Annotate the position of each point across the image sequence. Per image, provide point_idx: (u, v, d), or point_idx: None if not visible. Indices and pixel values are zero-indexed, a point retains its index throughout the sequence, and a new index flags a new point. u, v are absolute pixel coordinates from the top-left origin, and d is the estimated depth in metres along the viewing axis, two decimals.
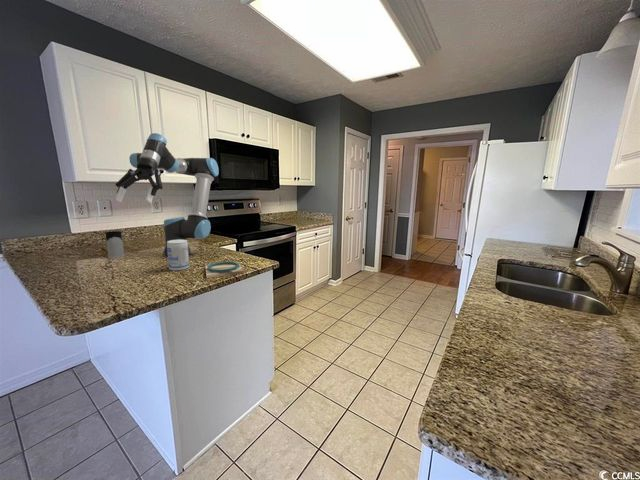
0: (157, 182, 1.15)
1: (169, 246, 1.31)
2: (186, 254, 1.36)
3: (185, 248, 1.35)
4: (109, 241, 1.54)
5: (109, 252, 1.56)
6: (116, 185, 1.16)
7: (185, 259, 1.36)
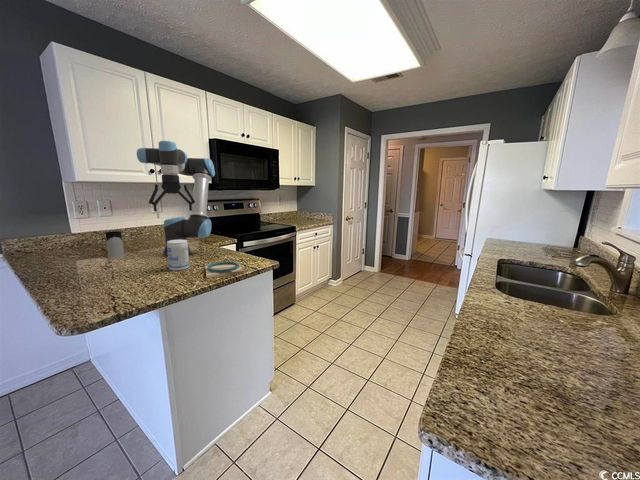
0: (192, 199, 1.34)
1: (169, 246, 1.31)
2: (186, 254, 1.36)
3: (185, 248, 1.35)
4: (109, 241, 1.54)
5: (109, 252, 1.56)
6: (150, 203, 1.27)
7: (185, 259, 1.36)
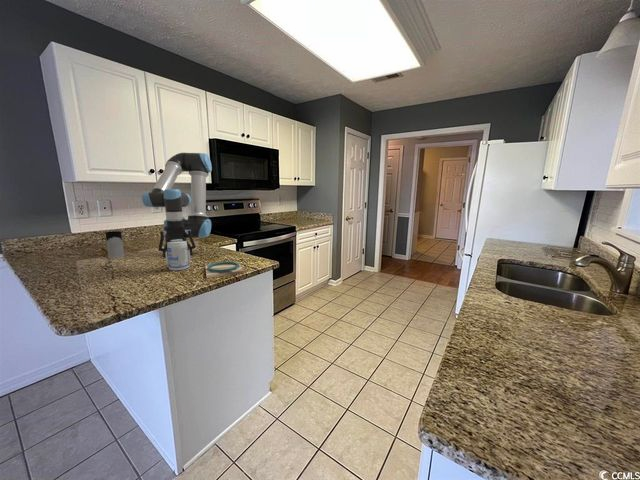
0: (193, 244, 1.38)
1: (169, 246, 1.31)
2: (186, 254, 1.36)
3: (185, 248, 1.35)
4: (109, 241, 1.55)
5: (109, 252, 1.56)
6: (160, 250, 1.32)
7: (185, 259, 1.36)
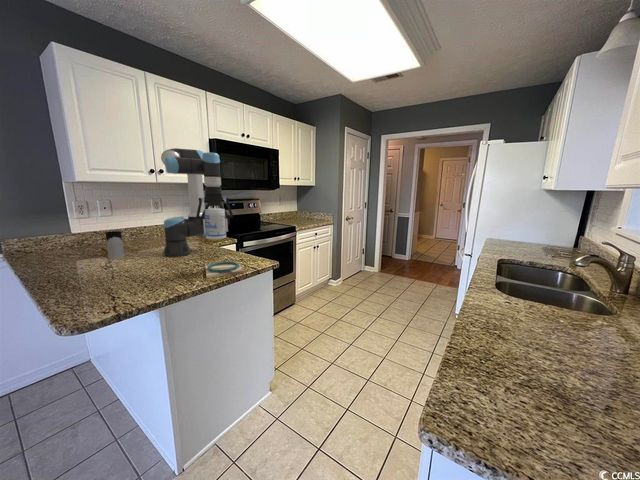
0: (230, 213, 1.31)
1: (207, 213, 1.25)
2: (224, 222, 1.30)
3: (223, 216, 1.29)
4: (109, 241, 1.54)
5: (109, 252, 1.56)
6: (197, 218, 1.26)
7: (223, 228, 1.29)
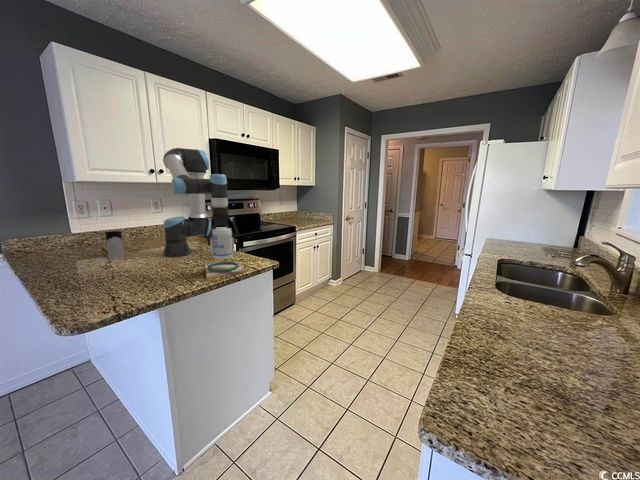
0: (237, 232, 1.33)
1: (215, 233, 1.27)
2: (231, 242, 1.32)
3: (230, 236, 1.31)
4: (109, 241, 1.54)
5: (109, 252, 1.56)
6: None
7: (230, 247, 1.31)
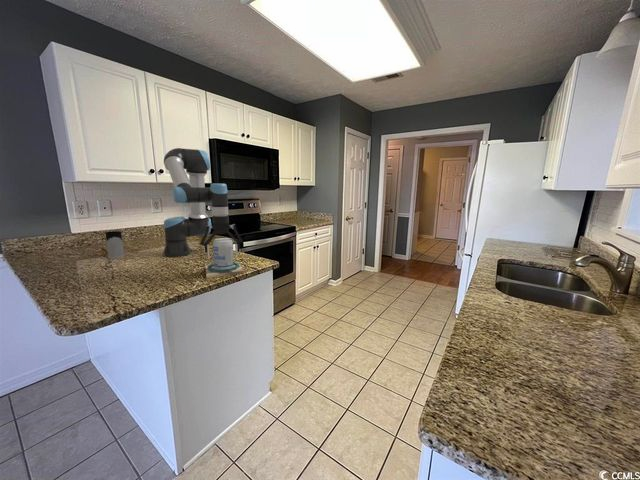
0: (240, 238, 1.35)
1: (216, 245, 1.28)
2: (232, 253, 1.33)
3: (231, 247, 1.32)
4: (109, 241, 1.55)
5: (109, 252, 1.56)
6: None
7: (231, 258, 1.32)
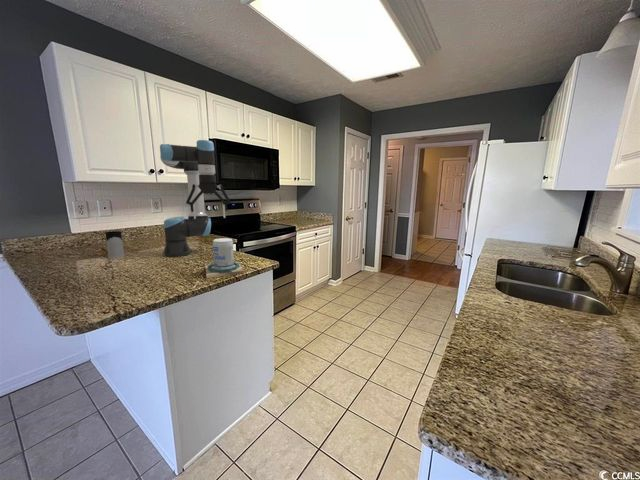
0: (227, 199, 1.32)
1: (216, 245, 1.28)
2: (232, 253, 1.33)
3: (231, 247, 1.32)
4: (109, 241, 1.55)
5: (109, 252, 1.56)
6: (187, 203, 1.25)
7: (231, 258, 1.32)
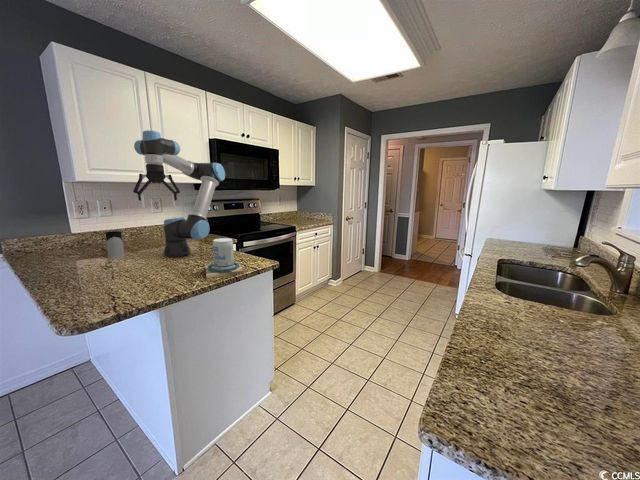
0: (176, 189, 1.35)
1: (216, 245, 1.28)
2: (232, 253, 1.33)
3: (231, 247, 1.32)
4: (109, 241, 1.54)
5: (109, 252, 1.56)
6: (134, 192, 1.28)
7: (231, 258, 1.32)
